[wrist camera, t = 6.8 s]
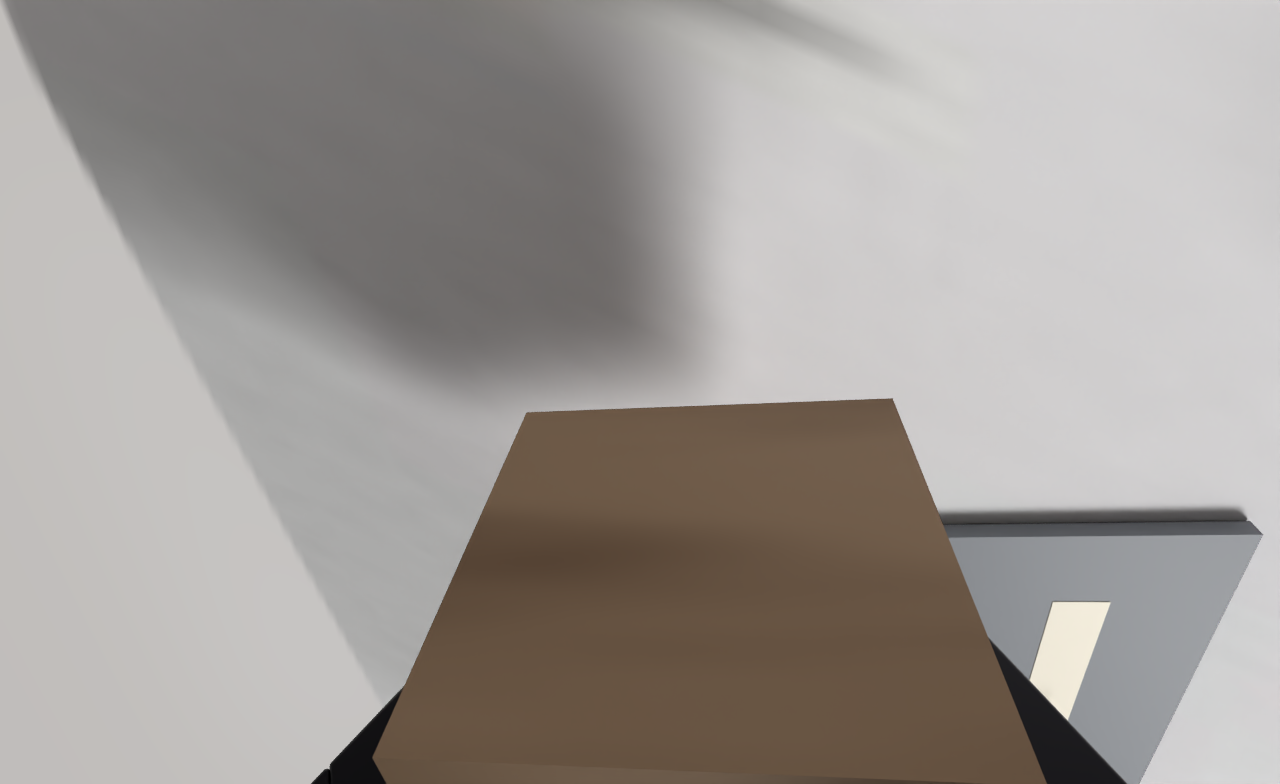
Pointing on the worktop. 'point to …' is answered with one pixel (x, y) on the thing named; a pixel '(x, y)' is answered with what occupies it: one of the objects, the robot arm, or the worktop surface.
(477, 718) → the walnut block
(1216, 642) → the worktop surface
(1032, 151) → the worktop surface
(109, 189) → the worktop surface
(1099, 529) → the letter card
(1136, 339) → the worktop surface
